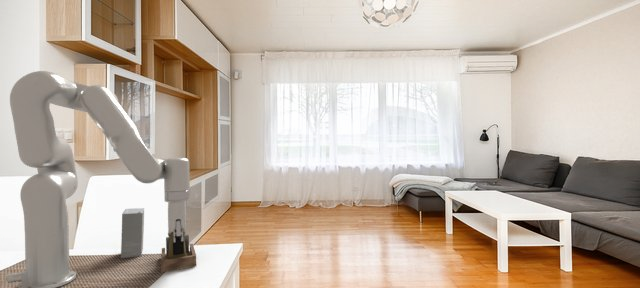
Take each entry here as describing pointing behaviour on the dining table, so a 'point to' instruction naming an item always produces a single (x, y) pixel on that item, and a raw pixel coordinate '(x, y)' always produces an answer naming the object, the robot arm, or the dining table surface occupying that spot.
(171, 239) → the cork
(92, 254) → the dining table surface
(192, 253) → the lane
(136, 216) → the skincare box
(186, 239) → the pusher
